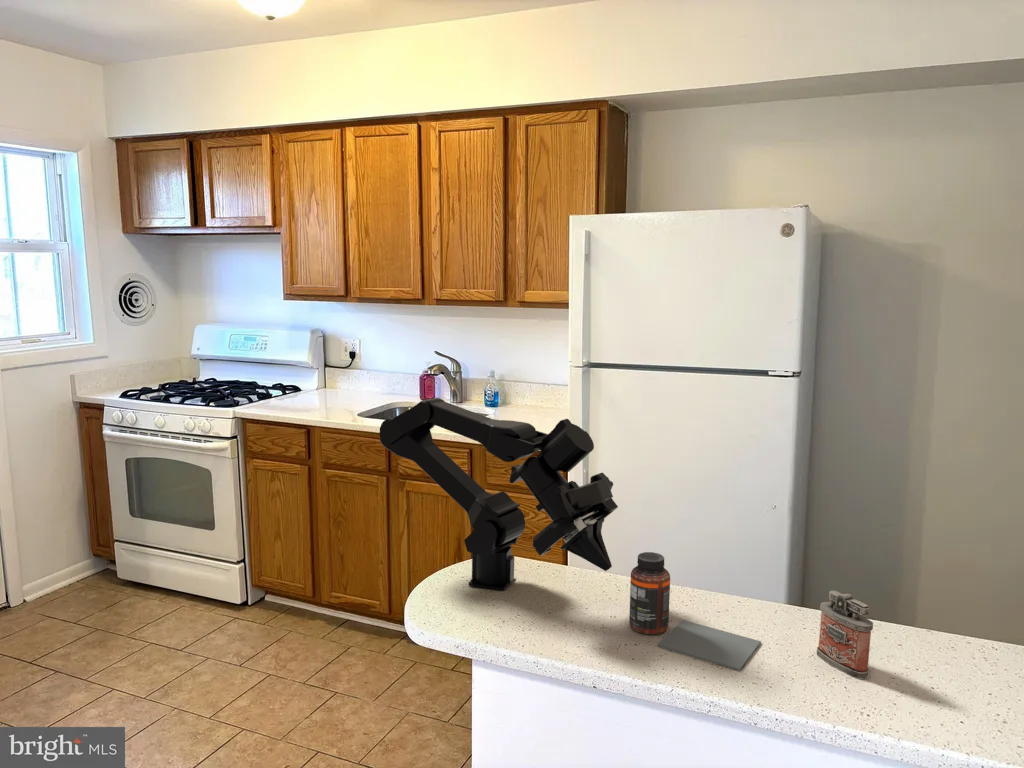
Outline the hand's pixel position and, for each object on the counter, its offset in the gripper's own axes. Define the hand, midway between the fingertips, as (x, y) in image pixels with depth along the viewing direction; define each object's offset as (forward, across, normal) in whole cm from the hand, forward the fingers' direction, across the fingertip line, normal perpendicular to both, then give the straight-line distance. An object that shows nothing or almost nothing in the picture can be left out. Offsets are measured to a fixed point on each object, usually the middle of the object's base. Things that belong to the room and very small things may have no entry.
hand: (609, 568), depth 118 cm
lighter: (+29, +5, -18) cm, 35 cm away
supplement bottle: (+10, 0, +1) cm, 11 cm away
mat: (+17, 0, -6) cm, 18 cm away
